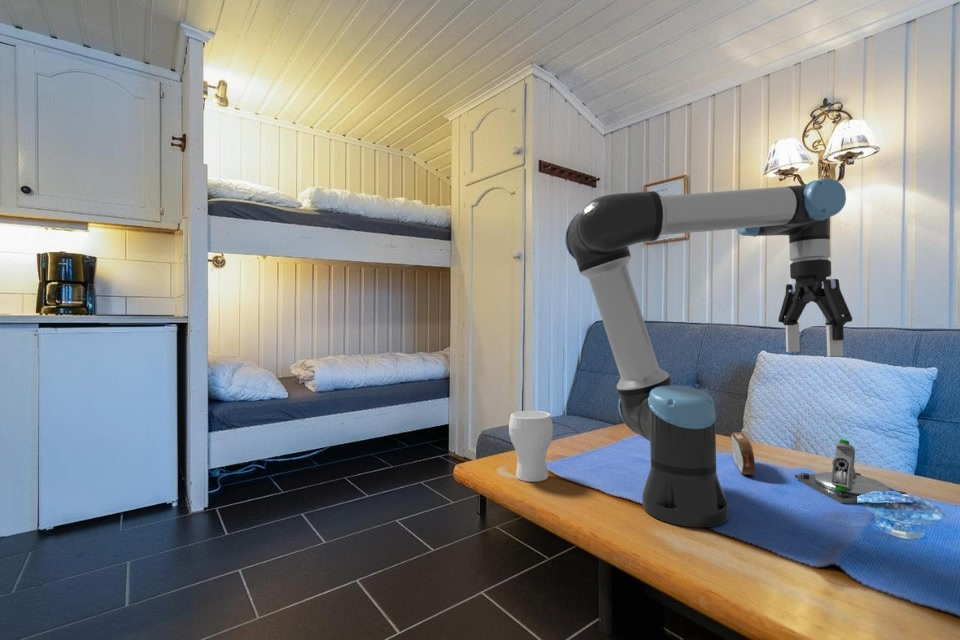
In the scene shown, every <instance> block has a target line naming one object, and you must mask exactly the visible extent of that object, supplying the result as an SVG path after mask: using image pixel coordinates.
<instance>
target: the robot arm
mask: <svg viewBox="0 0 960 640" xmlns="http://www.w3.org/2000/svg"><path fill="white" fill-rule="evenodd" d="M846 193H847V192H846V189H845V188H844V186H843V185H842V184H841V182H840V181H838V180H837V179H833V178H830V177H824V178H820V179H816V180H812V181H810V182H808V183H805V184H800V185H789V186H775V187H763V188H751V189H735V190H722V191H711V192H710V191H709V192H699V193H698V192H696V193H695V192H694V193H686V194H685V193H684V194H682V193H681V194H672V195H669V194H667V195H661V193H659V192H658V191H655V190H654V191H653V190H652V191H639V192H638V191H637V192H635V191H634V192H623V193H612V194H607V195H602V196H601V195H600V196H599V197H596V198H594V199H592V200H591V201H589V202H588V203H587V204H586V205H585V206H584V207H583V208H582V210H580V211H579V212H578V213H577V214H575V215H574V216H573V217H572V219H571V220H570V222H569V223H568V226H567V228H566V231H565V233H564V244H565V247H566V249H567V252H568V254H570V256H571V257H572V258H573V259H574V260H575V261H576V265H577V268H578V270H579V274H580V275H582V276H584V277H586V278H587V279H588V280H589V283H590V285H591V286H590V287H591V289H592V293H593V295H594V299H595V303H596V305H597V309H598V311H599V314H600V318H601V320H602V322H603V326H604V330H605V333H606V336H607V339H608V342H609V345H610V348H611V352H612V354H613V358H614V361H615V364H616V368H617V370H618V373H619V377H620V379H619V381H618V382H617V384H616V389H617V393H618V396H619V399H618V407H617V409H618V412H619V415H620V418H621V419H622V422H624V424H625V425H626V426H627V427H628V428H629V430H630V431H632V432H633V433H635V434H636V435H639V436H641V437H642V438H643V439H646V440H647V441H648V442H650V445H649V446H650V469H649V473H648V476H647V480H646V481H645V484H644V488H643V492H642V500H641V501H642V508H643V510H644V511H645V512H646V513H647V514H648V515H650V516H652V517H653V518H655V519H657V520H660V521H663V522H665V523H669V524H673V525H676V526H681V527H688V528H711V527H713V528H714V527H718V526H721V525H723V524H725V523H726V522H727V521H728V519H729V507H728V506H729V505H728V502H727V500H726V497H725V494H724V491H723V489H722V486H721V483H720V481H719V478H718V475H717V474H718V473H717V445H716V444H717V443H716V441H717V440H716V439H717V438H716V436H717V434H716V420H717V412H716V410H715V409H716V408H715V402H714V400H713V399H714V398H712V396H711V395H710V394H709V393H707V392H705V391H704V390H700V389H698V388H694V387H688V386H682V385H673V383H672V380H671V377H670V374H669V372H667V371H665V370H663V369H661V368H660V366H659V364H658V360H657V357H656V353H655V350H654V347H653V344H652V341H651V338H650V335H649V331H648V329H647V325H646V323H645V319H644V317H643V313H642V310H641V306H640V304H639V301H638V298H637V295H636V291H635V289H634V285H633V281H632V280H631V277H630V273H629V270H628V263H629V262H630V260H631V258H632V255H631V252H630V248H629V246H633V245H635V244H639V243H646V242H655V241H657V240H659V238H660V237H661V236H667V235H677V234H679V235H680V234H690V233H704V232H714V231H715V232H717V231H726V230H736V232H737V233H738V234H740V235H741V236H746V237H753V238H756V237H767V236H771V237H772V236H788V243H789V244H788V245H789V247H788V248H789V252H788V253H789V261H790V262H792V263H790V264H789V277H790V279H791V280H795V283H787V284H786V285H785V295H784V297H783V301H782V305H781V309H780V313H779V315H778V322H779V323H782V324H783V325H784V326H785V327H784V328H785V333H784V335H785V350H786V351H785V352H786V353H800V351H801V350H800V349H801V347H800V345H801V342H800V325H799V322H798V321H799V319H800V317H801V316H802V314H803V312H804V310H805V308H806V306H807V305H808V304H809V303H811V302H813V303H815V304H816V305H817V307H818V308H819V310H820V311H821V313H822V314H823V317H825V319H826V321H827V323H826V326H825V327H826V356H827V357H843V356H844V343H843V341H844V338H845V337H844V336H845V335H844V333H845V332H844V326H845V325H846V323H851V322H852V321H853V317H852V314H851V312H850V310H849V307H848V304H847V302H846V300H845V298H844V295H843V294H842V291H841V288H840V287H841V285H840V281H839V279H838V278H829V277H830V276H832V261H831V260H830V259H829V258H831V217H833V216H836V215H837V214H839V213H840V212H841V211H842V210H843V209H844V207H845V205H846V202H847V194H846ZM827 278H828V279H827Z"/></svg>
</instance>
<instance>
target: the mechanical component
mask: <svg viewBox="0 0 960 640" xmlns="http://www.w3.org/2000/svg"><path fill="white" fill-rule="evenodd" d="M835 447H836V451H835V457H834V458H833V459H832V461H831V465H832V470H831V472H832V480H831V484H832V485H833V486H836V487H835V490H838V491H841V492H845V488H846V489H852V486H853V479H856V478H857V475H856V474H855V472H856V469H855V459H856V458H855V457H856V456H855V455H856V452H855V451H856V449H855V448H854V446H853V445H851V444H850V441H849V440H847V439H846V440H845V439H839V442H836V443H835ZM834 474H835V480H834Z"/></svg>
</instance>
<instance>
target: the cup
mask: <svg viewBox="0 0 960 640" xmlns="http://www.w3.org/2000/svg"><path fill="white" fill-rule="evenodd" d="M553 427H554V425H553V421H552V416H551V414H550V413H549V412H547V411H546V412H545V411H542V410H541V411H540V410H522V411H521V410H520V411H516V412H512V413H511V414H510V419H509V422H508V434H509V437H510V441H511V444H512V446H513V447H514V449H515V451H516V452H515V453H516V458H517V464H516V471H515V473H516V474H515V477H516V478H517V480H519V481H523V482H533V483H534V482H542V481H545V480H547V479H548V478H549V474H548V473H549V472H548V467H547V462H546V459H547V452H548V450H549V447H550V445H551V444H552V439H553V436H554V428H553Z"/></svg>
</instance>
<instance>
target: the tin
mask: <svg viewBox="0 0 960 640" xmlns="http://www.w3.org/2000/svg"><path fill="white" fill-rule="evenodd" d="M730 440H731V446H732V450H731V451H732V452H731V453H732V457H733V461H734V462H733V463H734V464H735V463H736V464H735V466H736V465H737V466H736V467H738V468H737V470H738V469H739V470H740V471H739V470H738V471H739V473H740V472H741V473H740V475H742V474H743V475H744V476H752V477H754V476H755V475H756V461H755V456H754V455H755V454H754V450H753V446H752V443H751V441H750V439H749V438H748V437H747V436H746V434H745V433H744V432H743V431H741V432H740V431H739V432H738V431H737V432H732V433H730Z"/></svg>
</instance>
